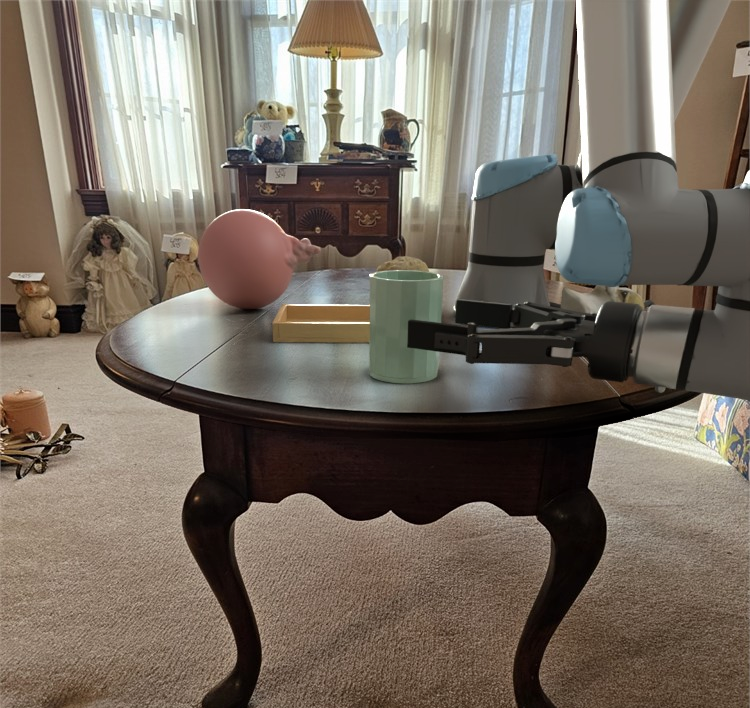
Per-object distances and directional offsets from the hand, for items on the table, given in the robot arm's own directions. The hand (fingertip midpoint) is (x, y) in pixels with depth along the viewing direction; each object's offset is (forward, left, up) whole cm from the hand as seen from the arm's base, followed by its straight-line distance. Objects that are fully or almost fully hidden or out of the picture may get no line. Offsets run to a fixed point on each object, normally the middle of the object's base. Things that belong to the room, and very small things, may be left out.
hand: (434, 321), depth 72 cm
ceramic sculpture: (-27, -19, -7) cm, 34 cm away
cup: (+3, -2, -6) cm, 7 cm away
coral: (0, -47, -7) cm, 47 cm away
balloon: (+24, -41, -7) cm, 48 cm away
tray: (+11, -24, -6) cm, 27 cm away
